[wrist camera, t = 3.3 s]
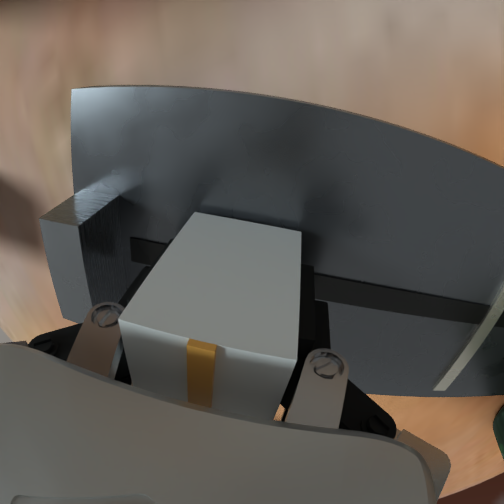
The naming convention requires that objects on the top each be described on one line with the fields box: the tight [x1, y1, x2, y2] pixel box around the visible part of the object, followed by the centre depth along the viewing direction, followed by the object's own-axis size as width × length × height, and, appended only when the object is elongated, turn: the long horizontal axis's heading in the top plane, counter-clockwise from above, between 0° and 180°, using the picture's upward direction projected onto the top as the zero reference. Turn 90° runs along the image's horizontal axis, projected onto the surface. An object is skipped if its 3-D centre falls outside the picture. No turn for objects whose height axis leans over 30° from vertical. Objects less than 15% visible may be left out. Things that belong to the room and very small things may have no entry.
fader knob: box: [118, 212, 301, 420], centre depth 10 cm, size 5×4×6 cm
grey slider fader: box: [39, 85, 504, 397], centre depth 12 cm, size 14×30×4 cm, turn 82°
